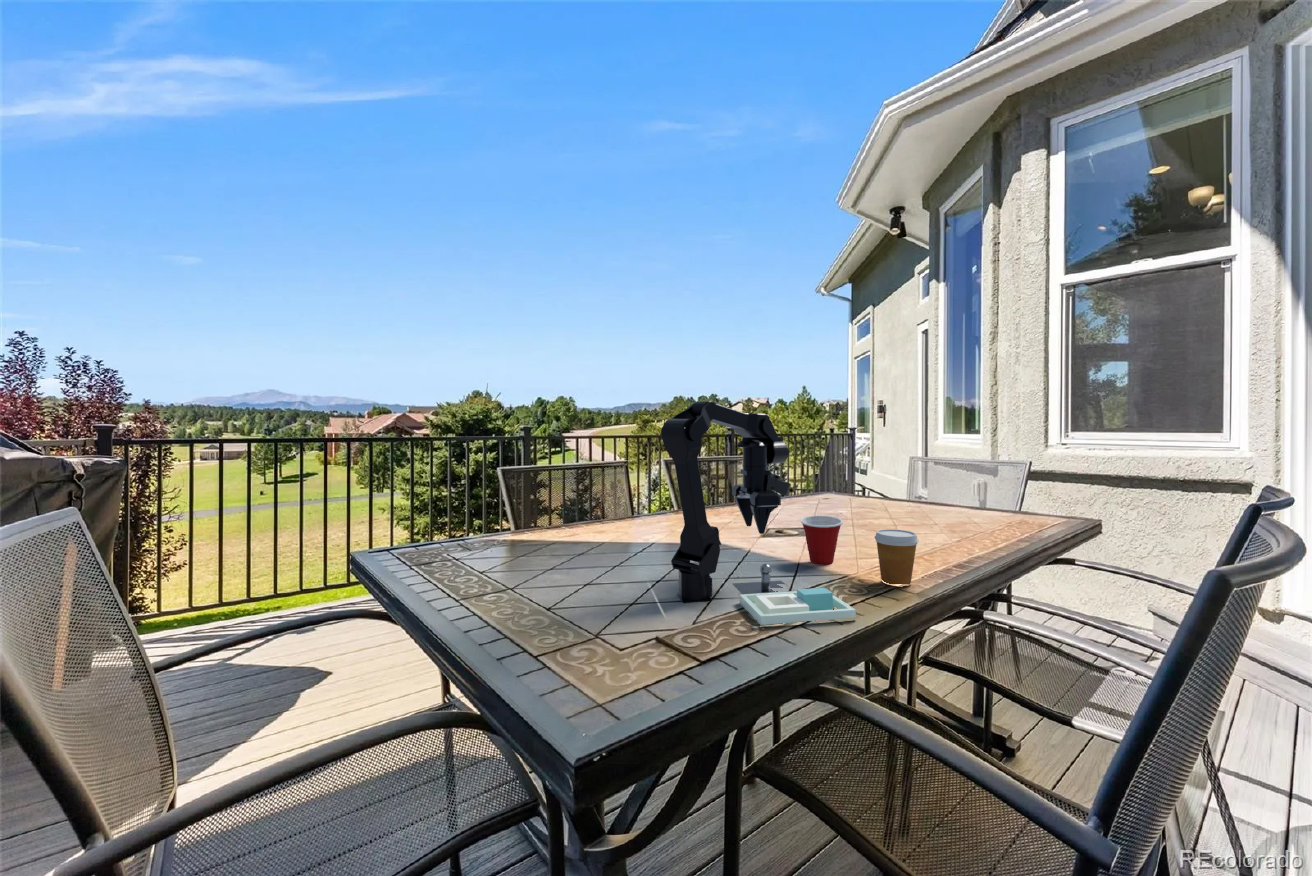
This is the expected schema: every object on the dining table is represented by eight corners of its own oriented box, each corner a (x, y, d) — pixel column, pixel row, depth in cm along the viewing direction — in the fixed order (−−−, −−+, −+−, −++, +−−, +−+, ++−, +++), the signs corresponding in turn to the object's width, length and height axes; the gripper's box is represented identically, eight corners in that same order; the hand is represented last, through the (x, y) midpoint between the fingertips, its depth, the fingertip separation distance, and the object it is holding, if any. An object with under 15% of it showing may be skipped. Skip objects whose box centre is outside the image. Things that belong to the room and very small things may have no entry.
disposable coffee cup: (865, 581, 132) (865, 531, 131) (894, 575, 136) (894, 527, 135) (897, 592, 123) (898, 538, 123) (927, 586, 127) (928, 534, 127)
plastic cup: (796, 566, 146) (796, 520, 145) (805, 556, 155) (805, 514, 155) (838, 571, 141) (839, 524, 140) (845, 561, 150) (845, 517, 150)
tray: (761, 628, 103) (761, 616, 103) (739, 604, 116) (739, 594, 116) (855, 621, 106) (855, 610, 106) (824, 599, 119) (824, 589, 119)
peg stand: (748, 601, 118) (748, 572, 117) (732, 585, 129) (732, 558, 129) (802, 598, 119) (802, 569, 119) (780, 582, 131) (780, 556, 131)
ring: (769, 619, 106) (769, 601, 106) (755, 605, 114) (755, 588, 114) (838, 614, 108) (838, 596, 108) (819, 601, 116) (819, 584, 116)
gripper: (802, 468, 125) (802, 536, 126) (772, 462, 144) (772, 521, 144) (755, 469, 124) (755, 538, 124) (731, 463, 142) (731, 523, 143)
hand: (755, 529), depth 134 cm, fingers open, 9 cm apart
